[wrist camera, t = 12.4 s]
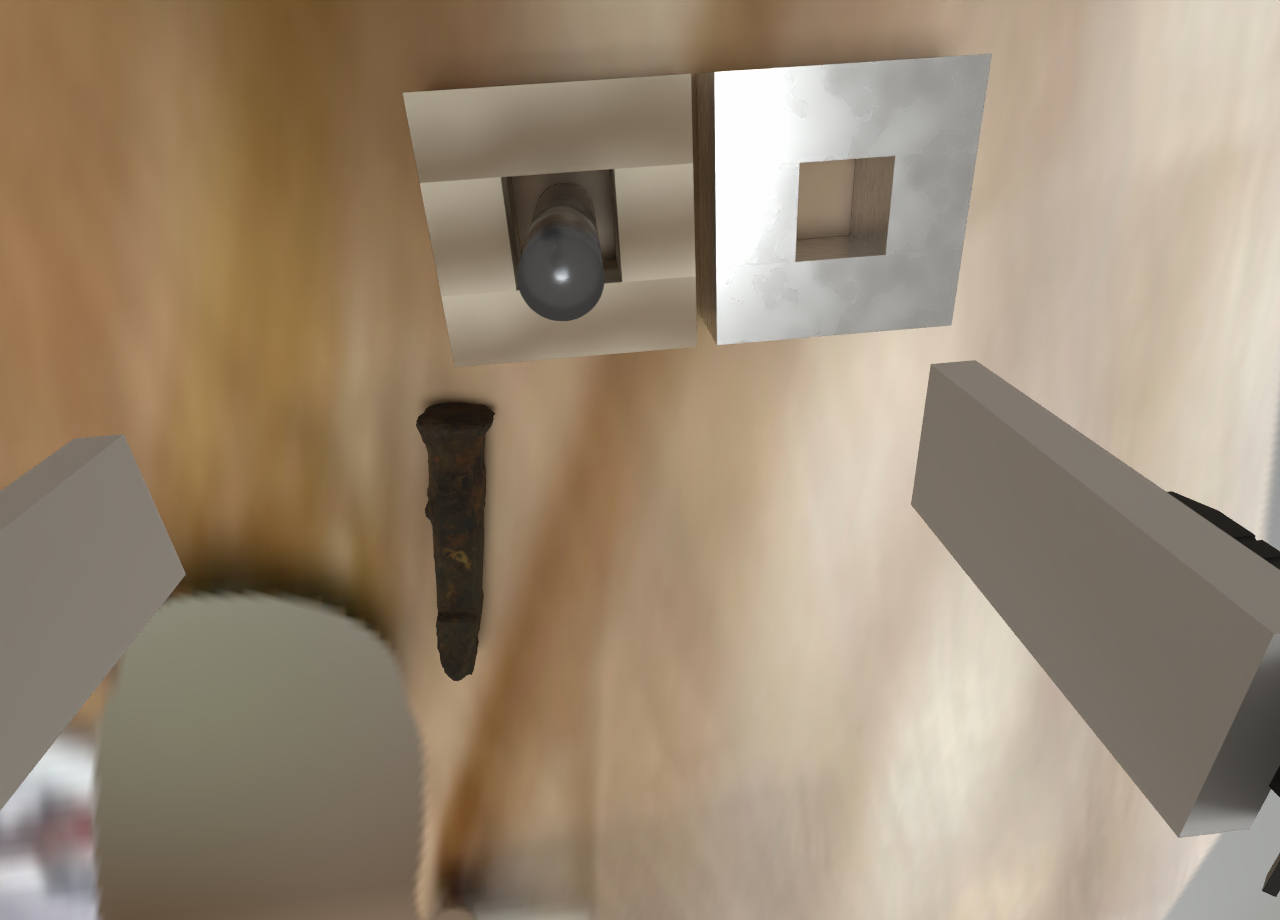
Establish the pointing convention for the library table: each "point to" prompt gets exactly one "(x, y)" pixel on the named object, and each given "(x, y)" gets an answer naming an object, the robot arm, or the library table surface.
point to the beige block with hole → (557, 143)
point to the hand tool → (457, 525)
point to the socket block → (882, 195)
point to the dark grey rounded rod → (562, 256)
